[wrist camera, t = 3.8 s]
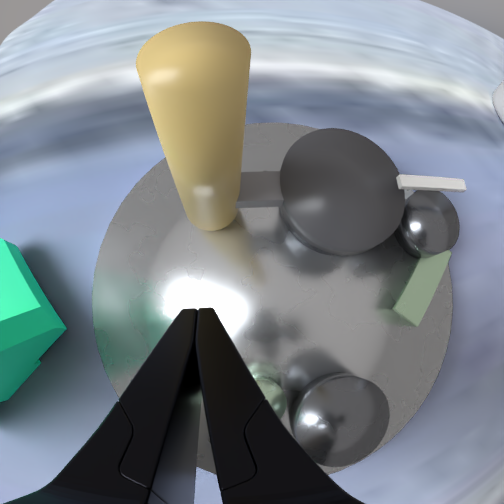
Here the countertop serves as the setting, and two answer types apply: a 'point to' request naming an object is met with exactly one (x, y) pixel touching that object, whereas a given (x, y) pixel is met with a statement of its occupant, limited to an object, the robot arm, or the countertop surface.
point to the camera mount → (22, 321)
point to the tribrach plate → (286, 305)
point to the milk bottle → (499, 101)
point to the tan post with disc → (295, 161)
